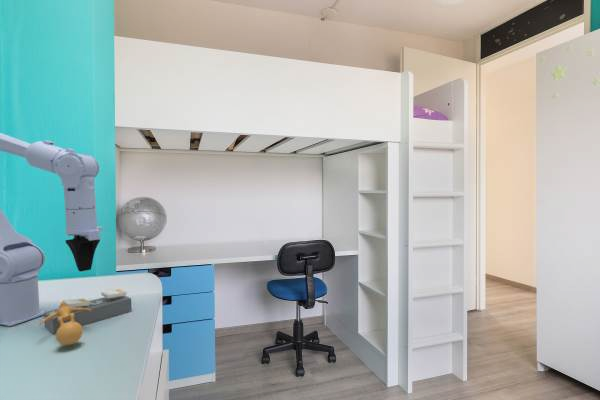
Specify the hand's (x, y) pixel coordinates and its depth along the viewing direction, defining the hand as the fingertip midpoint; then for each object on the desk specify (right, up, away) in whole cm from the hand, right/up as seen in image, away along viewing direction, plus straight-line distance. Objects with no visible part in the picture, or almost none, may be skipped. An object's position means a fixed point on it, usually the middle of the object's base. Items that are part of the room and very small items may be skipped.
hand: (84, 270), depth 75 cm
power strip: (+2, -10, -1) cm, 11 cm away
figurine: (+7, -10, -15) cm, 20 cm away
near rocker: (0, -7, -3) cm, 7 cm away
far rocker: (+5, -6, +3) cm, 8 cm away
